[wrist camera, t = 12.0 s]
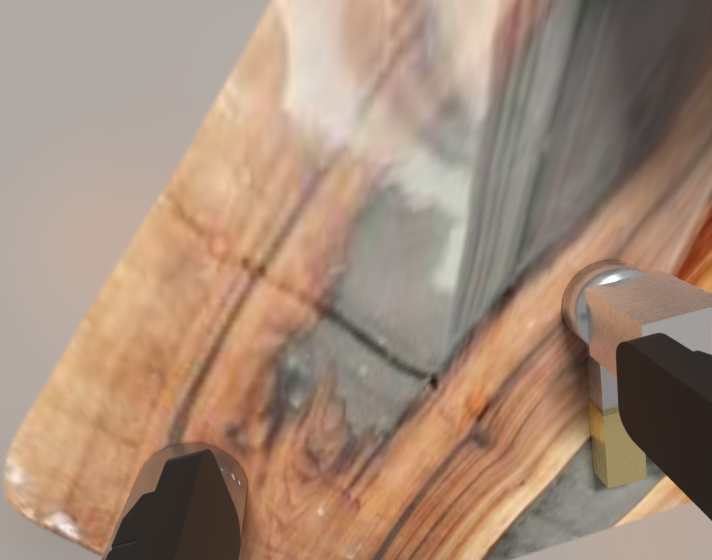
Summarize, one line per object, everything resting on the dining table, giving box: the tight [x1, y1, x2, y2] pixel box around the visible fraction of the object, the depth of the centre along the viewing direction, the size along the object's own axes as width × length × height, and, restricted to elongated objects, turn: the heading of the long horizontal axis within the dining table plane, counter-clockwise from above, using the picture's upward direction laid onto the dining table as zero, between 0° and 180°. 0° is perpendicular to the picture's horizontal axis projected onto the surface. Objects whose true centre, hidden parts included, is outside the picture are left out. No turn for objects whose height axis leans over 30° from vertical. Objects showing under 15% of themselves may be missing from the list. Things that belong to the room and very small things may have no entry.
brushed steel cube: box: [585, 270, 712, 378], centre depth 36 cm, size 6×6×7 cm
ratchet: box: [561, 260, 646, 489], centre depth 40 cm, size 21×7×8 cm, turn 13°
